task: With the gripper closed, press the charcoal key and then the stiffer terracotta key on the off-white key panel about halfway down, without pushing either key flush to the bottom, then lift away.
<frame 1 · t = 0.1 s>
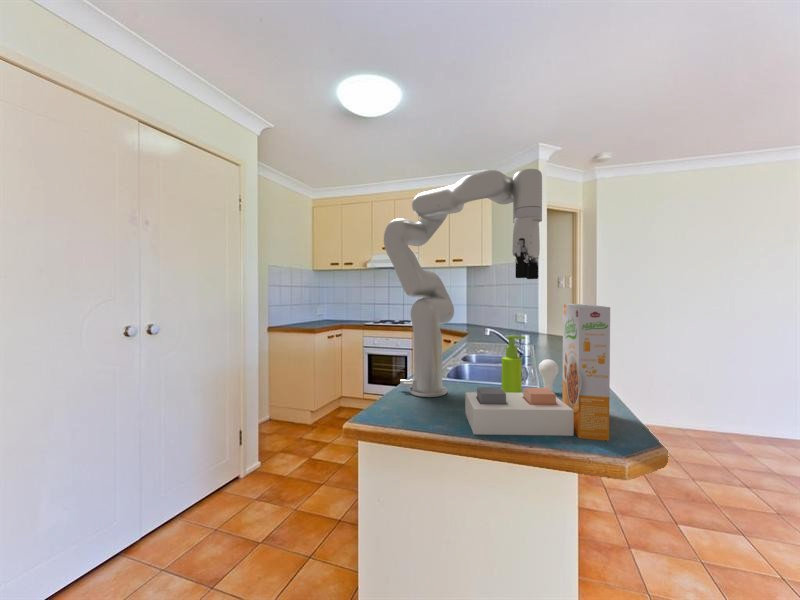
hand: (527, 278, 99), 37 cm above the countertop, tool pointing down, fingers open, 9 cm apart
key terracotta: (539, 398, 90), point 6 cm above the countertop, slide at 0.0 cm
cereal box: (582, 422, 92), on the countertop
lightbulb: (548, 392, 118), on the countertop
key charcoal: (491, 398, 90), point 7 cm above the countertop, slide at 0.0 cm
key panel: (514, 423, 90), on the countertop
soap dispenser: (513, 400, 110), on the countertop
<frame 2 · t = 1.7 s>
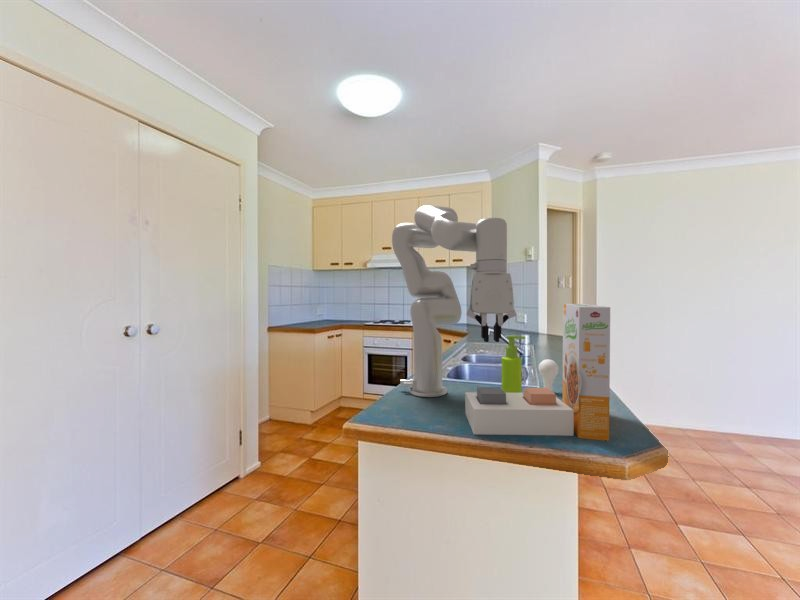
hand: (491, 340, 90), 21 cm above the countertop, tool pointing down, fingers closed
nothing on the countertop moved.
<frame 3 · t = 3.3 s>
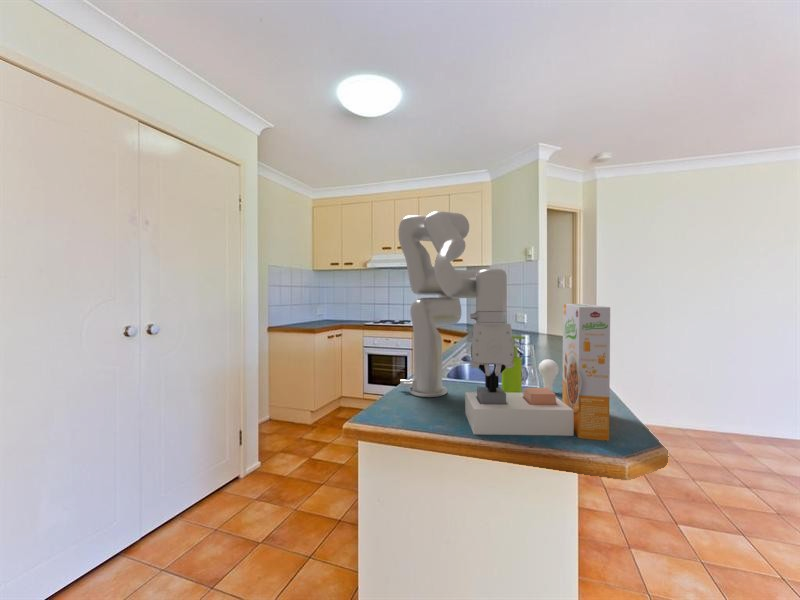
hand: (491, 390, 90), 9 cm above the countertop, tool pointing down, fingers closed
key charcoal: (491, 398, 90), point 7 cm above the countertop, slide at 0.0 cm, touching gripper
everything else where it was.
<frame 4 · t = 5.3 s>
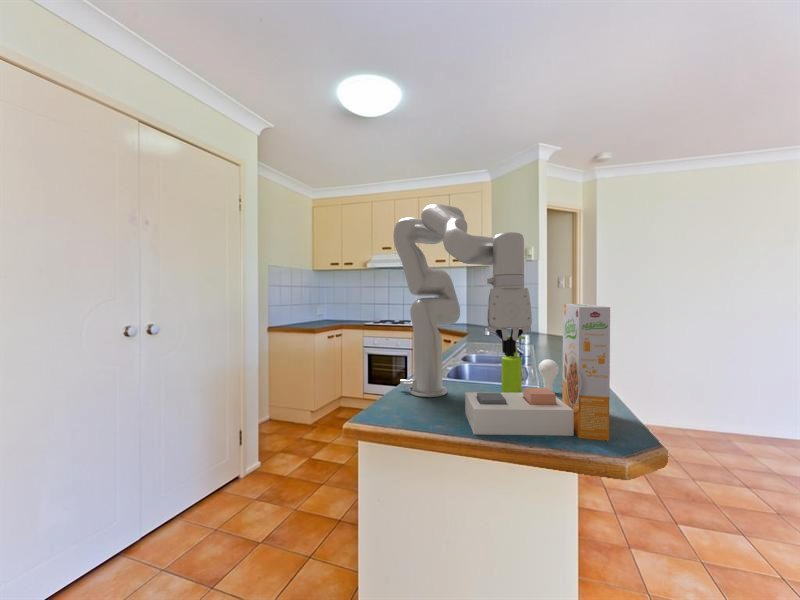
hand: (509, 355, 90), 17 cm above the countertop, tool pointing down, fingers closed
key charcoal: (491, 404, 90), point 5 cm above the countertop, slide at 1.5 cm
everything else where it was.
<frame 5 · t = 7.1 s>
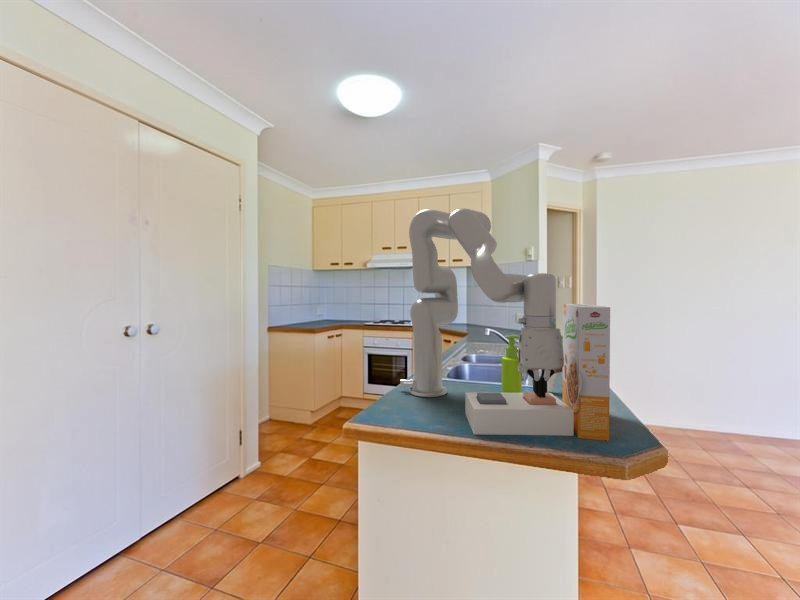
hand: (540, 395, 90), 7 cm above the countertop, tool pointing down, fingers closed
key terracotta: (539, 403, 90), point 5 cm above the countertop, slide at 1.2 cm, touching gripper
everything else where it was.
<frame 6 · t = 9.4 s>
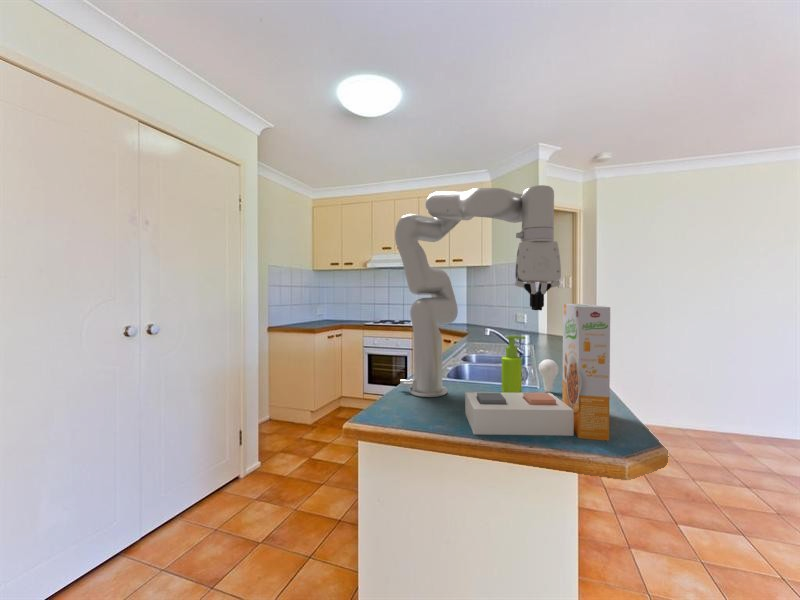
hand: (536, 309, 90), 29 cm above the countertop, tool pointing down, fingers closed
key terracotta: (539, 403, 90), point 5 cm above the countertop, slide at 1.4 cm
everything else where it was.
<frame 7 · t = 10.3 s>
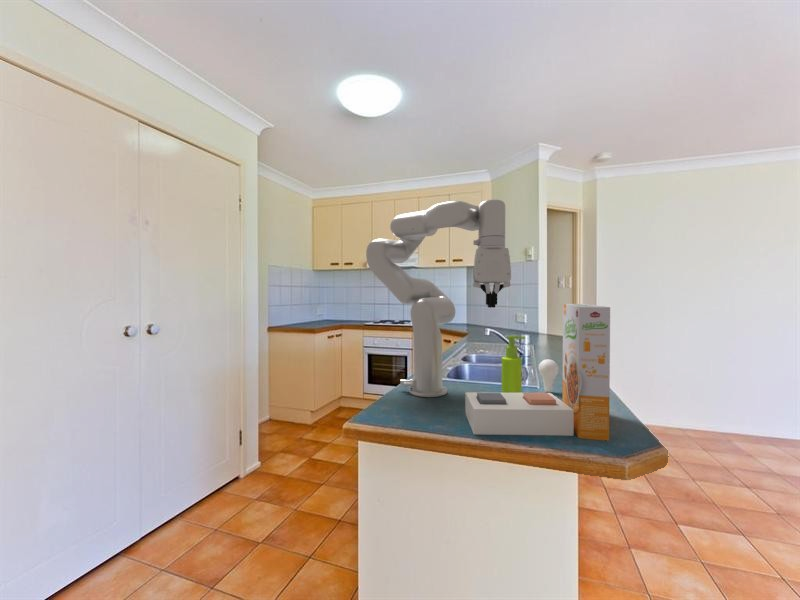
hand: (491, 307, 104), 29 cm above the countertop, tool pointing down, fingers closed
nothing on the countertop moved.
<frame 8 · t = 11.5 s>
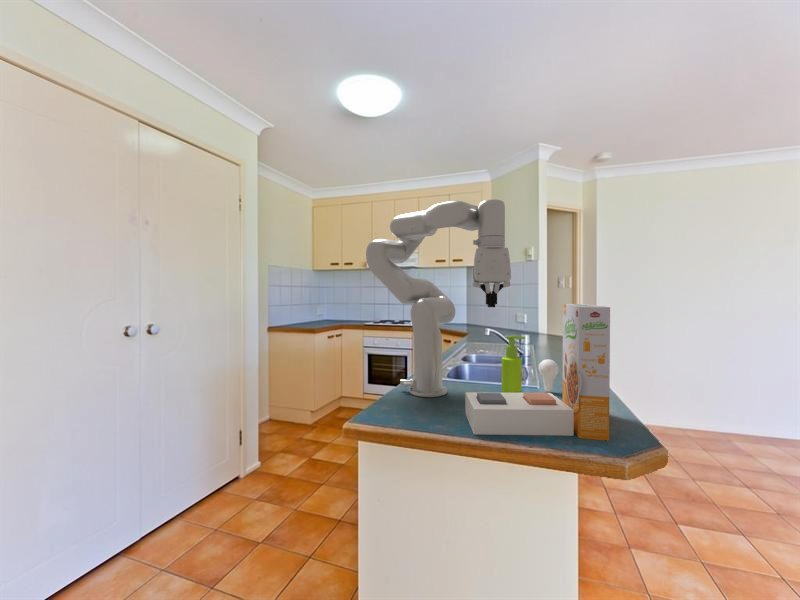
hand: (491, 306, 104), 29 cm above the countertop, tool pointing down, fingers closed
nothing on the countertop moved.
at the end: key charcoal slide at 1.5 cm; key terracotta slide at 1.4 cm; cereal box moved 0.2 cm from its start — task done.
